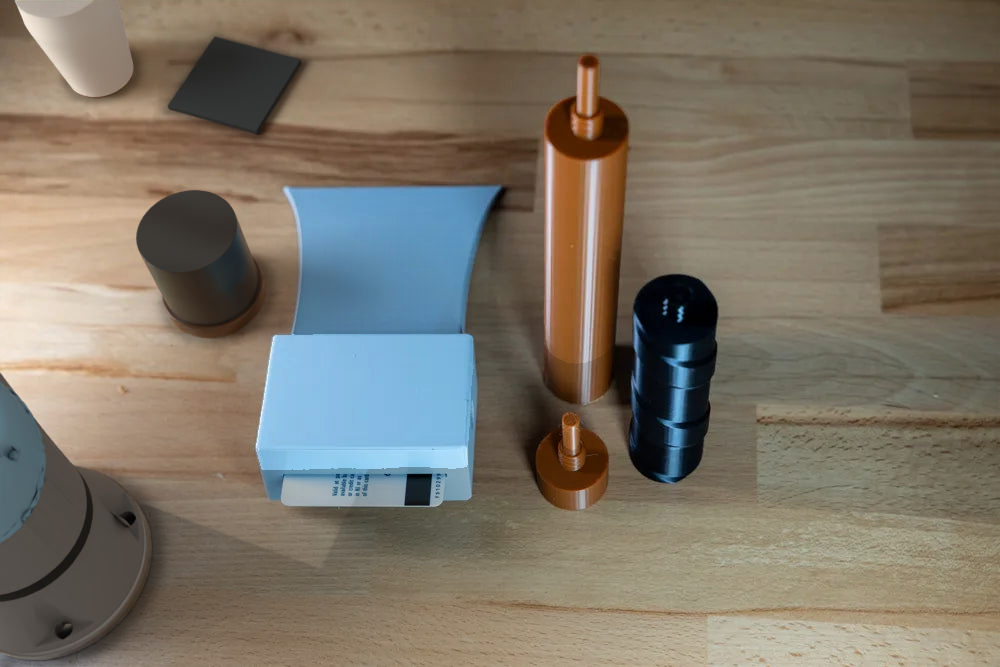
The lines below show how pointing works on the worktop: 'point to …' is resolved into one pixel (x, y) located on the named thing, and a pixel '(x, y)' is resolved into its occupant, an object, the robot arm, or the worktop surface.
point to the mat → (235, 85)
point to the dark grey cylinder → (201, 263)
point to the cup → (82, 42)
